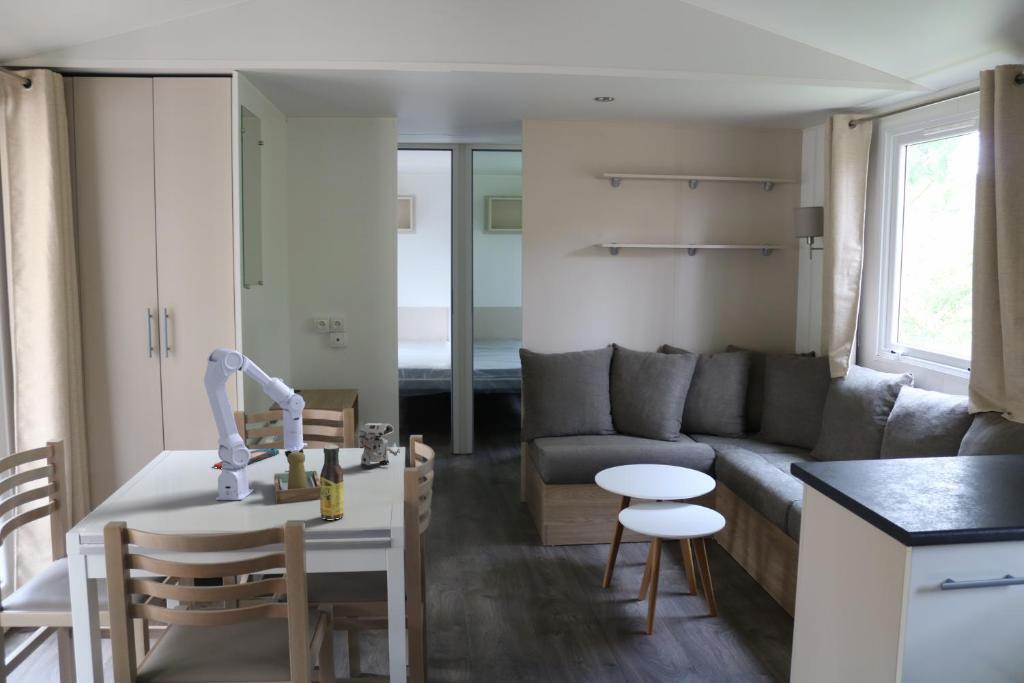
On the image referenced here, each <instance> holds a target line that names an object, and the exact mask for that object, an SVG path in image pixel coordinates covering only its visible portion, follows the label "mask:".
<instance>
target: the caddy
mask: <svg viewBox="0 0 1024 683" xmlns="http://www.w3.org/2000/svg"><path fill="white" fill-rule="evenodd" d="M273 482H274V483H273V484H274V485H273V486H274V492H275V499H276V500H275V501H276V504H286V503H285V502H287V503H292V502H291V501H297V502H300V501H299V500H306V501H308V500H307V499H316V498H320V477H319V475H318V472H316V473H314V484H315V487H309V488H299V489H289V490H280V484H279V483H278V477H274V476H273ZM316 500H317V499H316Z"/></svg>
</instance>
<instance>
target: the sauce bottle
mask: <svg viewBox="0 0 1024 683" xmlns="http://www.w3.org/2000/svg"><path fill="white" fill-rule="evenodd" d="M339 452H340V447H339V445H336V444H329V445H325V446H323V455H324V458H323V459H324V461H323V466H322V469H321V472H320V476H319V480H320V499H319V503H320V505H319V506H320V507H319V508H320V517H322V518H325V519H336V518H340V517H342V516H343V517H344V511H345V503H344V502H345V501H344V500H345V498H344V495H345V494H344V493H345V491H344V489H345V488H344V470H343V468H342V466H341V465H340V462H339V461H340V460H339ZM343 517H342V518H343ZM322 518H321V519H322Z"/></svg>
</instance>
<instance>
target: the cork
mask: <svg viewBox="0 0 1024 683" xmlns="http://www.w3.org/2000/svg"><path fill="white" fill-rule="evenodd" d="M286 460H287V463H288V465H289V466H288V471H289V476H288V489H287V490H289V489H299V488H308V485H307V479H306V474H305V471H306V470H305V464H304V463H305V461H306V454H304V453H301V452H295V453H291V454H289V455H288V456H287V457H286Z"/></svg>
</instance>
